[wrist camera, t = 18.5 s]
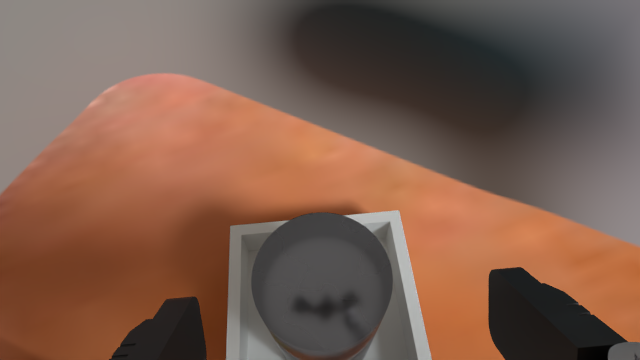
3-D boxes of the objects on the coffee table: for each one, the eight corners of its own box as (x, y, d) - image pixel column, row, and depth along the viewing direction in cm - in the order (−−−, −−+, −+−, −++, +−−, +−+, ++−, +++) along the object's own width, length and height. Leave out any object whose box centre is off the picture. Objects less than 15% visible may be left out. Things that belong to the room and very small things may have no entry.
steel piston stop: (367, 276, 23) (382, 209, 16) (378, 376, 20) (403, 346, 13) (276, 281, 23) (253, 216, 16) (275, 382, 20) (248, 355, 13)
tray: (392, 233, 25) (399, 210, 22) (426, 405, 20) (440, 400, 17) (240, 247, 25) (230, 225, 22) (237, 425, 20) (223, 422, 17)
